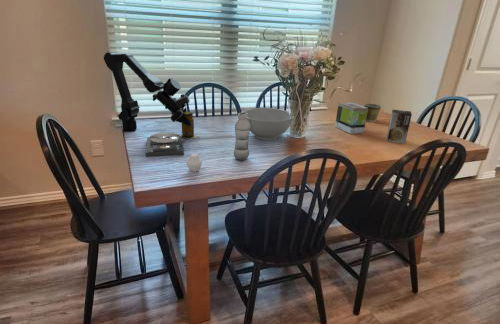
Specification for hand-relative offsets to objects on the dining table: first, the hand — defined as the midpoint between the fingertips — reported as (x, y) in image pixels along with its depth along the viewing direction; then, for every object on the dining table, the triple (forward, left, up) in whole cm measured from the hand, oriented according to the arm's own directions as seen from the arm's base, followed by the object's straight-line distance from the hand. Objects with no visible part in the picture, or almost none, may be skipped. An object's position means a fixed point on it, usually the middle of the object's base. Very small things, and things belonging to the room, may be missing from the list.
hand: (191, 123), depth 164 cm
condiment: (-2, 0, -7) cm, 7 cm away
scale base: (-13, -16, -7) cm, 22 cm away
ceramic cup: (+116, +18, -7) cm, 117 cm away
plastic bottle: (+19, -34, -7) cm, 39 cm away
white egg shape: (-2, -43, -7) cm, 44 cm away
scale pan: (-13, -13, -3) cm, 19 cm away
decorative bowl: (+39, -6, -7) cm, 40 cm away
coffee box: (+106, -22, -7) cm, 108 cm away
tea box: (+91, 0, -7) cm, 91 cm away
